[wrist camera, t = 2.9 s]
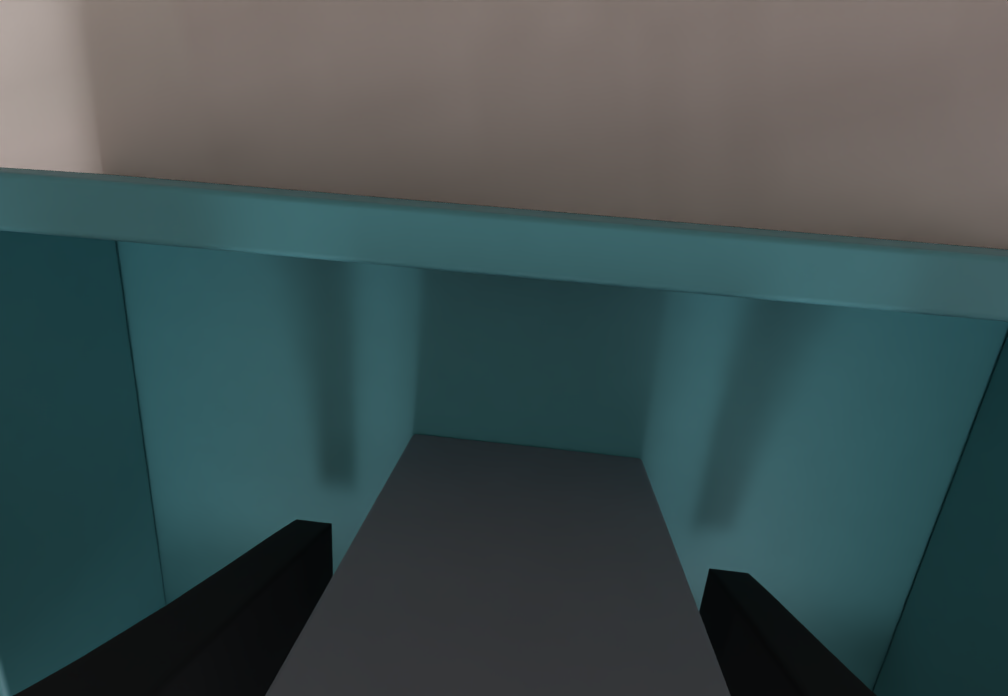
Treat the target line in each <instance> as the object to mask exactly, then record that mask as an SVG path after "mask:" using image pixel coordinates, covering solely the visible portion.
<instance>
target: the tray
mask: <svg viewBox="0 0 1008 696" xmlns="http://www.w3.org/2000/svg"><path fill="white" fill-rule="evenodd" d="M415 434H419V435H428V436H438V437H447V438H456V439H465V440H475V441H484V442H493V443H502V444H511V445H521V446H530V447H539V448H548V449H558V450H567V451H576V452H585V453H595V454H604V455H613V456H622V457H632V458H639V459H641V460H642V462H643V464H644V467H645V470H646V472H647V475H648V478H649V480H650V483H651V486H652V488H653V491H654V494H655V496H656V499H657V502H658V504H659V507H660V510H661V512H662V515H663V518H664V520H665V523H666V525H667V528H668V531H669V533H670V536H671V539H672V541H673V544H674V547H675V549H676V552H677V555H678V557H679V560H680V563H681V565H682V568H683V571H684V573H685V576H686V579H687V581H688V584H689V587H690V589H691V592H692V594H693V597H694V600H695V602H696V605H697V608H698V610H700V606H701V601H702V597H703V593H704V588H705V584H706V580H707V576H708V571H709V568H710V569H719V570H727V571H736V572H744V573H749V574H750V575H751V576H752V577H753V578H754V579H756V580H757V581H758V582H759V583H760V584H761V585H762V586H763V587H764V588H765V589H766V590H767V591H768V592H769V593H771V594H772V595H773V596H774V597H775V598H776V599H777V600H778V601H779V602H780V603H781V604H782V605H783V606H784V607H785V608H786V609H787V610H788V611H789V612H790V613H791V614H792V615H793V616H794V617H795V618H796V619H797V620H798V621H799V622H800V623H801V624H803V625H804V626H805V627H806V628H807V629H808V630H809V631H810V632H811V633H812V634H813V635H814V636H815V637H816V638H817V639H818V640H819V641H820V642H821V643H822V644H823V645H824V646H825V647H826V648H827V649H828V650H829V651H830V652H831V653H832V654H833V655H834V656H836V657H837V658H838V659H839V660H840V661H841V662H842V663H843V664H844V665H845V666H846V667H847V668H848V669H849V670H850V671H851V672H852V673H853V674H854V675H855V676H856V677H858V678H859V679H860V680H861V681H862V682H863V683H864V684H865V685H866V686H867V687H868V688H869V689H870V690H871V691H872V692H873V693H874V694H876V695H877V696H1008V250H1006V249H994V248H982V247H970V246H958V245H946V244H934V243H922V242H910V241H898V240H886V239H874V238H862V237H850V236H838V235H826V234H814V233H802V232H790V231H778V230H766V229H754V228H742V227H730V226H718V225H706V224H694V223H682V222H670V221H658V220H646V219H634V218H622V217H610V216H599V215H587V214H575V213H563V212H551V211H539V210H527V209H515V208H503V207H491V206H479V205H467V204H455V203H443V202H431V201H419V200H407V199H395V198H383V197H371V196H359V195H347V194H335V193H323V192H311V191H299V190H287V189H275V188H263V187H251V186H239V185H227V184H215V183H203V182H191V181H179V180H167V179H155V178H143V177H131V176H119V175H107V174H94V173H77V172H63V171H47V170H31V169H16V168H0V696H13V695H15V694H17V693H19V692H21V691H22V690H24V689H26V688H28V687H30V686H31V685H33V684H35V683H37V682H39V681H40V680H42V679H44V678H46V677H48V676H49V675H51V674H53V673H55V672H56V671H58V670H60V669H62V668H63V667H65V666H67V665H69V664H70V663H72V662H74V661H76V660H77V659H79V658H81V657H82V656H84V655H86V654H87V653H89V652H91V651H92V650H94V649H96V648H97V647H99V646H100V645H102V644H104V643H105V642H107V641H109V640H110V639H112V638H113V637H115V636H117V635H118V634H120V633H122V632H123V631H125V630H127V629H128V628H130V627H131V626H133V625H135V624H136V623H138V622H140V621H141V620H143V619H145V618H146V617H148V616H149V615H151V614H153V613H154V612H156V611H158V610H159V609H161V608H163V607H164V606H166V605H167V604H169V603H170V602H172V601H174V600H175V599H177V598H178V597H180V596H181V595H183V594H184V593H186V592H187V591H189V590H190V589H192V588H193V587H195V586H196V585H198V584H199V583H201V582H202V581H204V580H205V579H207V578H208V577H210V576H212V575H213V574H215V573H216V572H218V571H219V570H221V569H222V568H224V567H225V566H227V565H228V564H230V563H231V562H233V561H234V560H236V559H237V558H239V557H240V556H241V555H243V554H244V553H246V552H247V551H249V550H250V549H252V548H253V547H255V546H256V545H258V544H259V543H261V542H262V541H264V540H265V539H267V538H268V537H270V536H271V535H273V534H274V533H276V532H277V531H279V530H280V529H282V528H283V527H285V526H286V525H288V524H290V523H291V522H293V521H294V520H296V519H298V520H307V521H315V522H323V523H332V556H333V575H334V573H335V571H336V570H337V568H338V566H339V564H340V563H341V561H342V559H343V557H344V556H345V554H346V552H347V550H348V549H349V547H350V545H351V543H352V541H353V540H354V538H355V536H356V534H357V533H358V531H359V529H360V527H361V526H362V524H363V522H364V520H365V519H366V517H367V515H368V513H369V511H370V510H371V508H372V506H373V504H374V503H375V501H376V499H377V497H378V496H379V494H380V492H381V490H382V489H383V487H384V485H385V483H386V481H387V480H388V478H389V476H390V474H391V473H392V471H393V469H394V467H395V466H396V464H397V462H398V460H399V459H400V457H401V455H402V453H403V452H404V450H405V448H406V446H407V444H408V443H409V441H410V439H411V437H412V436H413V435H415Z"/></svg>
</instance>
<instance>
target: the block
mask: <svg viewBox="0 0 1008 696" xmlns="http://www.w3.org/2000/svg"><path fill="white" fill-rule="evenodd" d="M265 696H731V695H730V693H729V690H728V687H727V685H726V682H725V679H724V677H723V674H722V671H721V669H720V666H719V663H718V661H717V658H716V655H715V653H714V650H713V648H712V645H711V642H710V640H709V637H708V634H707V632H706V629H705V626H704V624H703V621H702V618H701V616H700V613H699V610H698V608H697V605H696V602H695V600H694V597H693V594H692V592H691V589H690V587H689V584H688V581H687V579H686V576H685V573H684V571H683V568H682V565H681V563H680V560H679V557H678V555H677V552H676V549H675V547H674V544H673V541H672V539H671V536H670V533H669V531H668V528H667V525H666V523H665V520H664V518H663V515H662V512H661V510H660V507H659V504H658V502H657V499H656V496H655V494H654V491H653V488H652V486H651V483H650V480H649V478H648V475H647V472H646V470H645V467H644V464H643V462H642V460H641V459H639V458H632V457H622V456H613V455H604V454H595V453H585V452H576V451H567V450H558V449H548V448H539V447H530V446H521V445H511V444H502V443H493V442H484V441H475V440H465V439H456V438H447V437H438V436H428V435H419V434H415V435H413V436H412V437H411V439H410V441H409V443H408V444H407V446H406V448H405V450H404V452H403V453H402V455H401V457H400V459H399V460H398V462H397V464H396V466H395V467H394V469H393V471H392V473H391V474H390V476H389V478H388V480H387V481H386V483H385V485H384V487H383V489H382V490H381V492H380V494H379V496H378V497H377V499H376V501H375V503H374V504H373V506H372V508H371V510H370V511H369V513H368V515H367V517H366V519H365V520H364V522H363V524H362V526H361V527H360V529H359V531H358V533H357V534H356V536H355V538H354V540H353V541H352V543H351V545H350V547H349V549H348V550H347V552H346V554H345V556H344V557H343V559H342V561H341V563H340V564H339V566H338V568H337V570H336V571H335V573H334V575H333V577H332V578H331V580H330V582H329V584H328V586H327V587H326V589H325V591H324V593H323V594H322V596H321V598H320V600H319V601H318V603H317V605H316V607H315V608H314V610H313V612H312V614H311V616H310V617H309V619H308V621H307V623H306V624H305V626H304V628H303V630H302V631H301V633H300V635H299V637H298V638H297V640H296V642H295V644H294V645H293V647H292V649H291V651H290V653H289V654H288V656H287V658H286V660H285V661H284V663H283V665H282V667H281V668H280V670H279V672H278V674H277V675H276V677H275V679H274V681H273V683H272V684H271V686H270V688H269V690H268V691H267V693H266V695H265Z"/></svg>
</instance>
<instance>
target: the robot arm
mask: <svg viewBox="0 0 1008 696" xmlns="http://www.w3.org/2000/svg"><path fill="white" fill-rule="evenodd" d="M332 577H333V556H332V523H323V522H315V521H307V520H298V519H296V520H294V521H293V522H291V523H290V524H288V525H286V526H285V527H283V528H282V529H280V530H279V531H277V532H276V533H274V534H273V535H271V536H270V537H268V538H267V539H265V540H264V541H262V542H261V543H259V544H258V545H256V546H255V547H253V548H252V549H250V550H249V551H247V552H246V553H244V554H243V555H241V556H240V557H239V558H237V559H236V560H234V561H233V562H231V563H230V564H228V565H227V566H225V567H224V568H222V569H221V570H219V571H218V572H216V573H215V574H213V575H212V576H210V577H208V578H207V579H205V580H204V581H202V582H201V583H199V584H198V585H196V586H195V587H193V588H192V589H190V590H189V591H187V592H186V593H184V594H183V595H181V596H180V597H178V598H177V599H175V600H174V601H172V602H170V603H169V604H167V605H166V606H164V607H163V608H161V609H159V610H158V611H156V612H154V613H153V614H151V615H149V616H148V617H146V618H145V619H143V620H141V621H140V622H138V623H136V624H135V625H133V626H131V627H130V628H128V629H127V630H125V631H123V632H122V633H120V634H118V635H117V636H115V637H113V638H112V639H110V640H109V641H107V642H105V643H104V644H102V645H100V646H99V647H97V648H96V649H94V650H92V651H91V652H89V653H87V654H86V655H84V656H82V657H81V658H79V659H77V660H76V661H74V662H72V663H70V664H69V665H67V666H65V667H63V668H62V669H60V670H58V671H56V672H55V673H53V674H51V675H49V676H48V677H46V678H44V679H42V680H40V681H39V682H37V683H35V684H33V685H31V686H30V687H28V688H26V689H24V690H22V691H21V692H19V693H17V694H15V695H13V696H265V695H266V693H267V691H268V690H269V688H270V686H271V684H272V683H273V681H274V679H275V677H276V675H277V674H278V672H279V670H280V668H281V667H282V665H283V663H284V661H285V660H286V658H287V656H288V654H289V653H290V651H291V649H292V647H293V645H294V644H295V642H296V640H297V638H298V637H299V635H300V633H301V631H302V630H303V628H304V626H305V624H306V623H307V621H308V619H309V617H310V616H311V614H312V612H313V610H314V608H315V607H316V605H317V603H318V601H319V600H320V598H321V596H322V594H323V593H324V591H325V589H326V587H327V586H328V584H329V582H330V580H331V578H332ZM699 613H700V616H701V618H702V621H703V624H704V626H705V629H706V632H707V634H708V637H709V640H710V642H711V645H712V648H713V650H714V653H715V655H716V658H717V661H718V663H719V666H720V669H721V671H722V674H723V677H724V679H725V682H726V685H727V687H728V690H729V693H730V695H731V696H877V695H876V694H874V693H873V692H872V691H871V690H870V689H869V688H868V687H867V686H866V685H865V684H864V683H863V682H862V681H861V680H860V679H859V678H858V677H856V676H855V675H854V674H853V673H852V672H851V671H850V670H849V669H848V668H847V667H846V666H845V665H844V664H843V663H842V662H841V661H840V660H839V659H838V658H837V657H836V656H834V655H833V654H832V653H831V652H830V651H829V650H828V649H827V648H826V647H825V646H824V645H823V644H822V643H821V642H820V641H819V640H818V639H817V638H816V637H815V636H814V635H813V634H812V633H811V632H810V631H809V630H808V629H807V628H806V627H805V626H804V625H803V624H801V623H800V622H799V621H798V620H797V619H796V618H795V617H794V616H793V615H792V614H791V613H790V612H789V611H788V610H787V609H786V608H785V607H784V606H783V605H782V604H781V603H780V602H779V601H778V600H777V599H776V598H775V597H774V596H773V595H772V594H771V593H769V592H768V591H767V590H766V589H765V588H764V587H763V586H762V585H761V584H760V583H759V582H758V581H757V580H756V579H754V578H753V577H752V576H751V575H750V574H749V573H744V572H736V571H727V570H719V569H710V568H709V571H708V576H707V580H706V584H705V588H704V593H703V597H702V601H701V606H700V610H699Z"/></svg>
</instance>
